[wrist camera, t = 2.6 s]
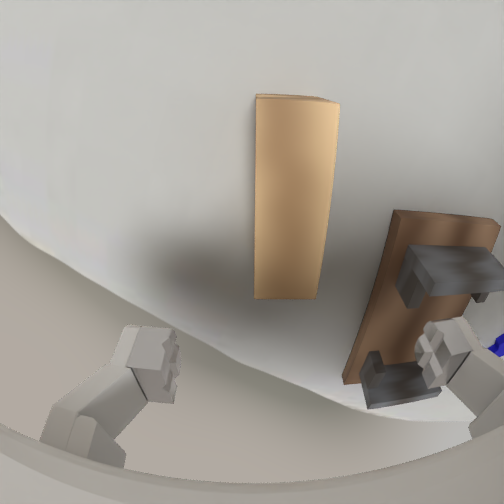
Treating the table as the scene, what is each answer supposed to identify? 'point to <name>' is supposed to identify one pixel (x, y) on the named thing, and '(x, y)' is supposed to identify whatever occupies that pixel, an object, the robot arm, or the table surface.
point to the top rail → (292, 192)
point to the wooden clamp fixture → (419, 298)
